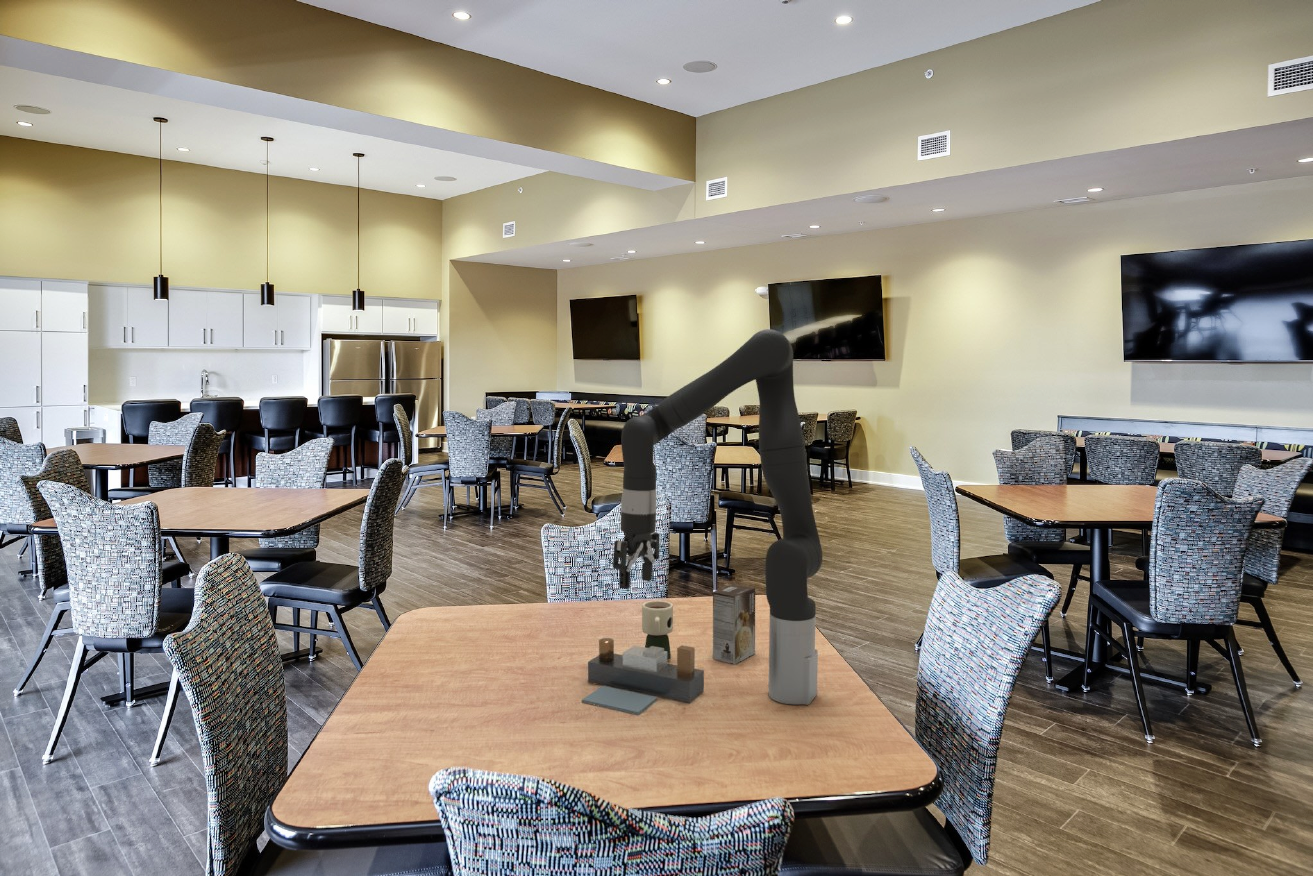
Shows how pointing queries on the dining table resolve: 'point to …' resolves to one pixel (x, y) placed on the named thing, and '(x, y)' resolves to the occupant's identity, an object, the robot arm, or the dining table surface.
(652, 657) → the lever cap
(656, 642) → the character mug
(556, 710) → the dining table surface
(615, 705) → the mat
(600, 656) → the dark grey post stand
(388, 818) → the dining table surface
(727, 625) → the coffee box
